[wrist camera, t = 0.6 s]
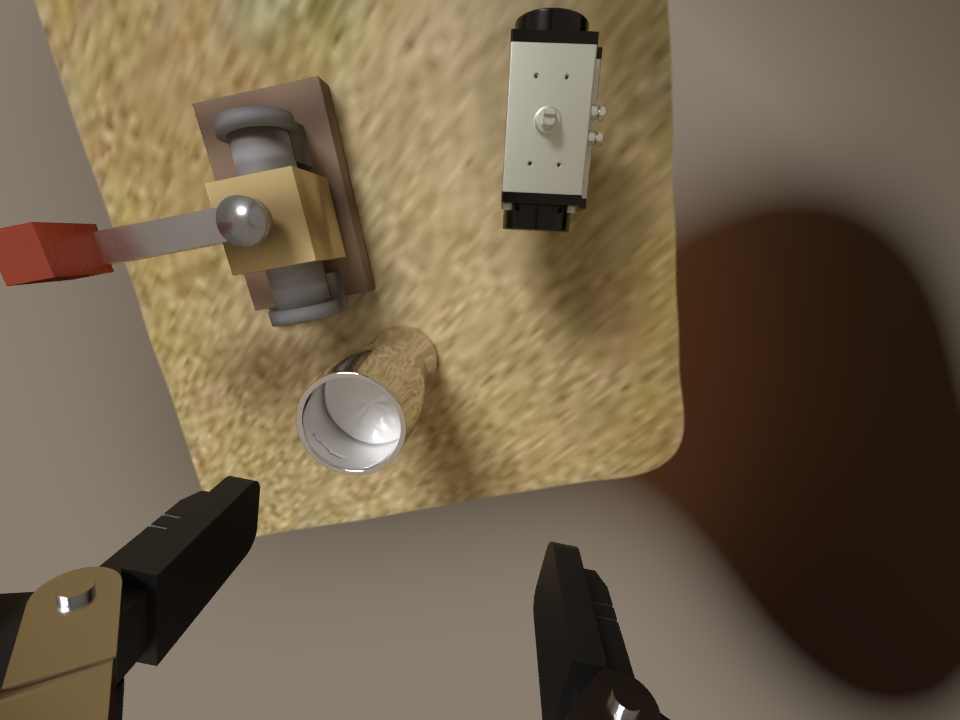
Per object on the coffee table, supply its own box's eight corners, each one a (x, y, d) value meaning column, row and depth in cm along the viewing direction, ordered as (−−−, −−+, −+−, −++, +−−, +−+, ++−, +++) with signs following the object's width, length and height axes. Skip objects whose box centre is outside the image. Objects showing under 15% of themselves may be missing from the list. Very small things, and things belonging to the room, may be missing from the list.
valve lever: (265, 192, 28) (219, 183, 23) (279, 241, 29) (237, 242, 24) (56, 234, 29) (-26, 233, 25) (75, 280, 30) (-1, 287, 25)
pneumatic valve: (500, 230, 37) (499, 227, 26) (509, 70, 34) (513, -15, 23) (567, 233, 37) (596, 232, 25) (582, 73, 34) (624, -12, 22)
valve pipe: (209, 111, 36) (108, 67, 27) (328, 85, 35) (266, 30, 26) (270, 318, 40) (201, 341, 31) (377, 299, 39) (339, 318, 30)
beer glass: (414, 306, 39) (364, 346, 25) (457, 371, 41) (432, 445, 26) (351, 345, 40) (267, 406, 26) (394, 407, 42) (338, 497, 27)
